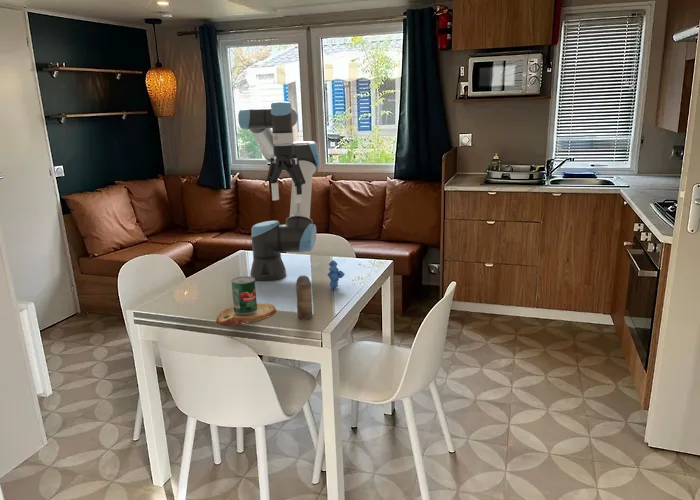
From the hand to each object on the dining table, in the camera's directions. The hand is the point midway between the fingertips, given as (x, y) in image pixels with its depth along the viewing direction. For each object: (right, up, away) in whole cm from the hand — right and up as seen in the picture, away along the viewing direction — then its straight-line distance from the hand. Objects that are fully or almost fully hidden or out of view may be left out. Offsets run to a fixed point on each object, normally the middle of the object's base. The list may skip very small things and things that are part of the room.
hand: (286, 201), depth 212 cm
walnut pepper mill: (+9, -41, -23) cm, 48 cm away
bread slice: (-11, -42, -19) cm, 48 cm away
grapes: (+19, -34, +6) cm, 39 cm away
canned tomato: (-12, -39, -21) cm, 46 cm away
